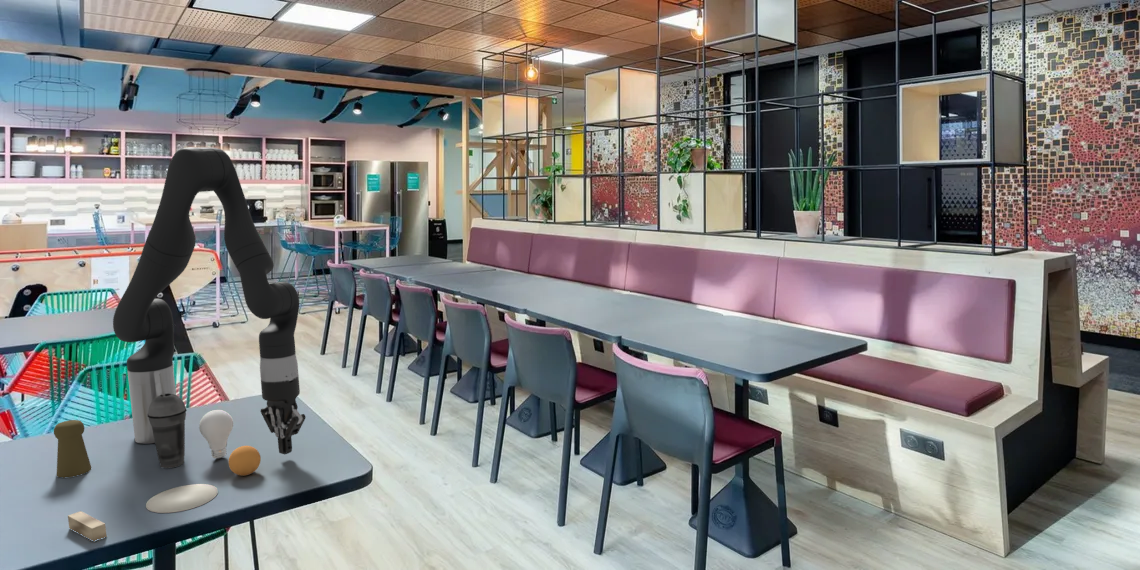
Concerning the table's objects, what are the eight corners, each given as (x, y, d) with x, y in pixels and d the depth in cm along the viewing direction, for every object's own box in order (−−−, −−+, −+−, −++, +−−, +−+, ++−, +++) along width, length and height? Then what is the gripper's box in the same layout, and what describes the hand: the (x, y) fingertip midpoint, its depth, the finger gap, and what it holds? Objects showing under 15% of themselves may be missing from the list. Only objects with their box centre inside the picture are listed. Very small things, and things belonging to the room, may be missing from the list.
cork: (98, 468, 148) (92, 418, 146) (70, 479, 142) (63, 427, 140) (78, 464, 149) (72, 415, 148) (49, 475, 144) (43, 425, 142)
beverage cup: (164, 473, 144) (154, 380, 141) (145, 466, 148) (136, 375, 145) (198, 461, 150) (190, 372, 147) (179, 455, 154) (171, 368, 151)
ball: (223, 476, 142) (221, 448, 141) (250, 466, 147) (248, 439, 146) (240, 482, 139) (238, 454, 138) (267, 472, 144) (265, 444, 143)
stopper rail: (69, 529, 121) (67, 515, 120) (82, 524, 122) (80, 511, 122) (93, 542, 116) (92, 528, 115) (106, 537, 118) (105, 523, 117)
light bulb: (222, 465, 148) (217, 416, 146) (195, 463, 149) (190, 414, 148) (242, 454, 154) (238, 406, 153) (216, 452, 155) (212, 405, 154)
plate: (133, 503, 130) (133, 502, 130) (196, 480, 140) (196, 479, 140) (167, 518, 124) (167, 517, 124) (230, 493, 134) (230, 492, 134)
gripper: (245, 375, 149) (251, 452, 151) (283, 384, 142) (289, 464, 144) (276, 367, 155) (282, 442, 157) (314, 375, 148) (319, 453, 150)
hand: (285, 452), depth 151 cm, fingers closed
